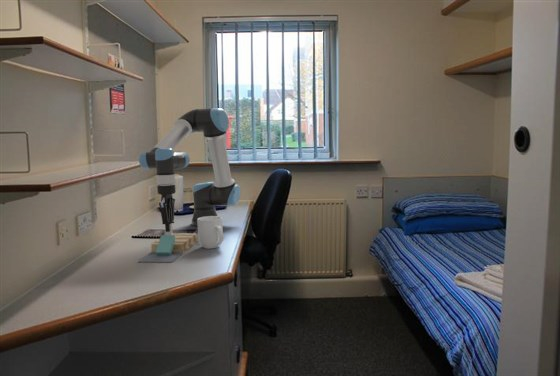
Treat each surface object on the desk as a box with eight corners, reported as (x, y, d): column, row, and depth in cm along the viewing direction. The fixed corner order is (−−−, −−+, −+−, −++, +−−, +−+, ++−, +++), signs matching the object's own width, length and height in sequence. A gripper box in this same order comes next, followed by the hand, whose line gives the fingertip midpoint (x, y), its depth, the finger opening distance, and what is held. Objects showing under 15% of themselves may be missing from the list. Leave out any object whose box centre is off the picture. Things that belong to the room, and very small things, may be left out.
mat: (151, 253, 197) (151, 252, 197) (183, 253, 195) (183, 252, 195) (138, 262, 183) (137, 261, 183) (171, 262, 181) (171, 261, 181)
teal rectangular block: (162, 238, 198) (161, 235, 196) (175, 238, 197) (174, 235, 196) (156, 255, 191) (155, 252, 190) (170, 255, 191) (169, 252, 189)
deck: (168, 241, 216) (167, 233, 216) (197, 241, 215) (196, 233, 214) (151, 253, 197) (151, 244, 196) (183, 253, 195) (182, 244, 194)
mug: (233, 248, 201) (232, 219, 199) (212, 253, 194) (210, 222, 192) (214, 242, 212) (213, 214, 211) (193, 247, 205) (192, 218, 203)
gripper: (163, 182, 202) (166, 235, 205) (151, 186, 189) (155, 242, 192) (179, 182, 201) (182, 235, 204) (169, 186, 189) (172, 242, 191)
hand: (169, 238), depth 198 cm, fingers closed
